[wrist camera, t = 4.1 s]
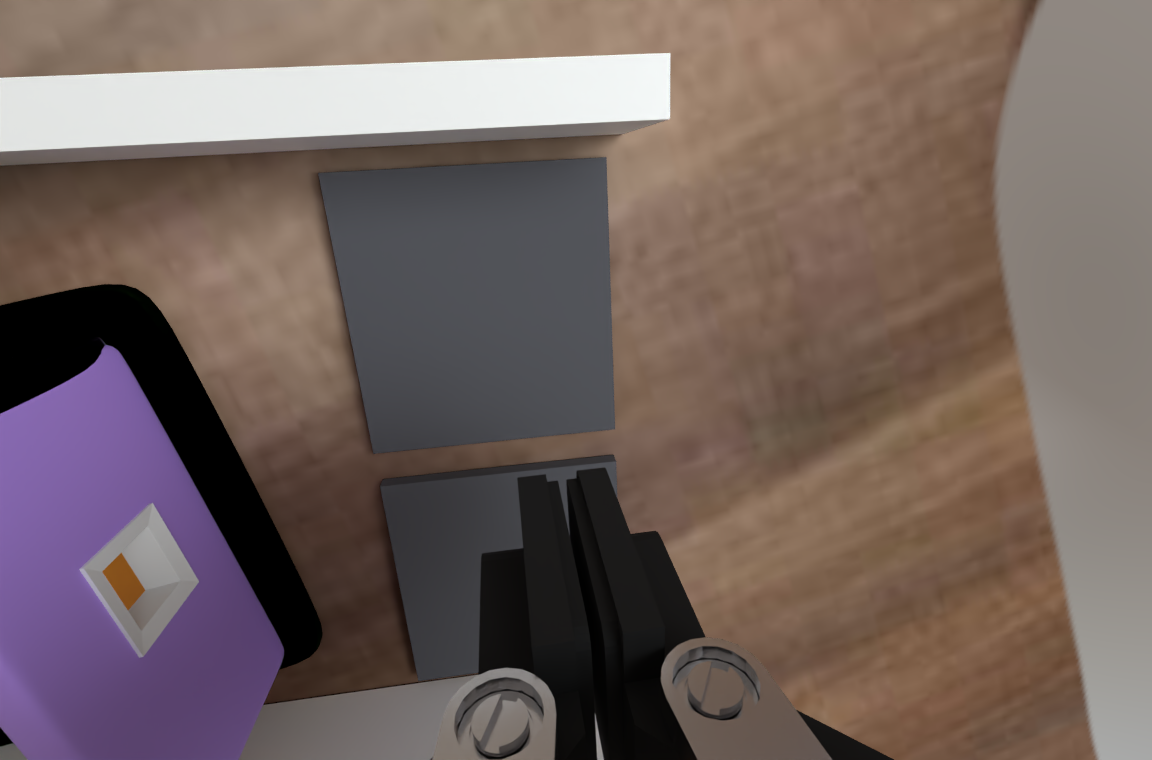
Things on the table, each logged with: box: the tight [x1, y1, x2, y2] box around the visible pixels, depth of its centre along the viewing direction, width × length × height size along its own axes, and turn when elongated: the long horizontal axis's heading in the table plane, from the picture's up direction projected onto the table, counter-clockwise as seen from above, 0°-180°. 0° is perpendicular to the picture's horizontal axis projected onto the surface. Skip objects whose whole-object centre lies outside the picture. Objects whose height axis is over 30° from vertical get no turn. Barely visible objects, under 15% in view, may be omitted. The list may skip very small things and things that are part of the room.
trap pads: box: [318, 157, 617, 681], centre depth 16 cm, size 6×15×1 cm, turn 3°
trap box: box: [0, 53, 670, 760], centre depth 13 cm, size 28×18×5 cm, turn 93°
